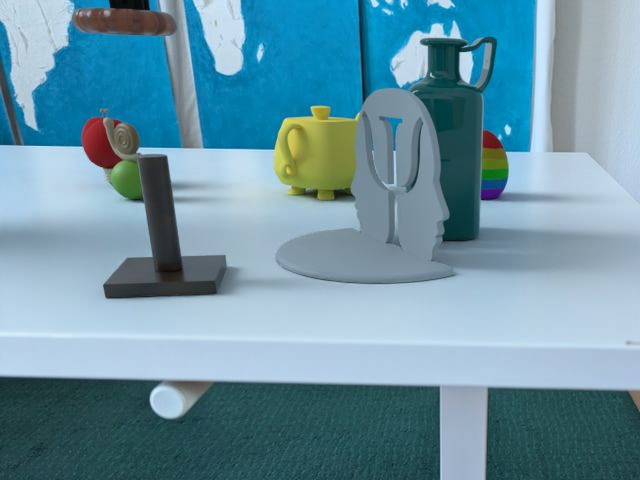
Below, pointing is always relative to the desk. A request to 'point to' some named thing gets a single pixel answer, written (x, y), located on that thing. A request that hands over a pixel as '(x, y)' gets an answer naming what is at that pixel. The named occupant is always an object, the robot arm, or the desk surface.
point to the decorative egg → (493, 167)
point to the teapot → (316, 153)
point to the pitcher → (456, 129)
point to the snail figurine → (124, 158)
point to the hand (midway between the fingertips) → (134, 33)
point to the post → (163, 247)
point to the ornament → (384, 203)
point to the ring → (124, 21)
